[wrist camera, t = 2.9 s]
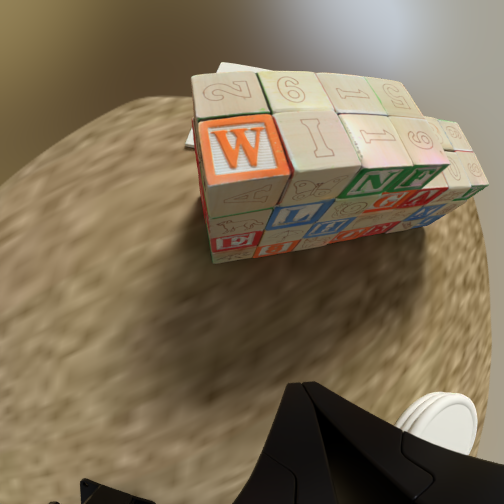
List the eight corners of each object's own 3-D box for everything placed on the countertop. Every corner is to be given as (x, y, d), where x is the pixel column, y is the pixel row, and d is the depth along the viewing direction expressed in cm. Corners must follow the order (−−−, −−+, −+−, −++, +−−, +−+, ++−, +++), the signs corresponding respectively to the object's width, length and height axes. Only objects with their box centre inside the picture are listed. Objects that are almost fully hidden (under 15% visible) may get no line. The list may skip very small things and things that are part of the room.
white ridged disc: (360, 469, 17) (380, 484, 14) (419, 374, 20) (444, 375, 17) (420, 491, 16) (440, 501, 13) (468, 411, 20) (491, 413, 16)
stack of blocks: (406, 172, 26) (477, 102, 14) (428, 226, 25) (515, 170, 13) (198, 192, 23) (188, 71, 11) (210, 266, 21) (204, 183, 9)
